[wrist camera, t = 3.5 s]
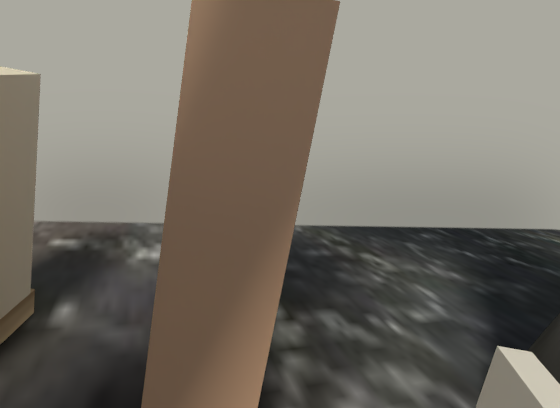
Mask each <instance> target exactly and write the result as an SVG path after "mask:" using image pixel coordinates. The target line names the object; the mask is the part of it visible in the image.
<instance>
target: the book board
mask: <svg viewBox="0 0 560 408" xmlns="http://www.w3.org/2000/svg"><path fill="white" fill-rule="evenodd" d="M34 297H35V289H30V294H29V295H28V296H27V297H26V298H24V299H23V300H22V301H21V302H20V303H19V304H17V305H16V306H15V307H14V308H13V309H12V310H10V311H9V312H8V313H7V314H6V315H5V316H4V317H2V318H1V319H0V344H1V343H3V342H4V341H5V340H6V339H7V338H8V337H9V336H10V335H11V334H12V333H13V332H14V331H15V330H16V329H17V328H18V327H19V326H20V325H21V324H23V323H24V322H25V321H26V320H27V319H28V318H29V317H30V316H31V315H32V314H33V313H34Z"/></svg>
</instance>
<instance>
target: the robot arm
mask: <svg viewBox="0 0 560 408" xmlns="http://www.w3.org/2000/svg"><path fill="white" fill-rule="evenodd" d="M476 408H560V313H559V314H558V316H557V317H556V318H555V319H554V320H553V321H552V322H551V323H550V325H549V326H548V327H547V328H546V329H545V330H544V331H543V333H542V334H541V335H540V336H539V337H538V339H537V340H536V341H535V342H534V343H533V345H532V346H531V347H530V348H529V350H528V351H523V350H518V349H512V348H506V347H501V346H497V348H496V351H495V353H494V356H493V359H492V362H491V365H490V368H489V370H488V373H487V376H486V379H485V382H484V385H483V388H482V390H481V393H480V396H479V399H478V402H477V405H476Z"/></svg>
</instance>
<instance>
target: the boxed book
mask: <svg viewBox="0 0 560 408" xmlns="http://www.w3.org/2000/svg"><path fill="white" fill-rule="evenodd" d="M339 4H340V1H335V0H192V4H191V12H190V20H189V28H188V36H187V44H186V52H185V60H184V68H183V76H182V84H181V92H180V100H179V108H178V116H177V124H176V133H175V140H174V148H173V156H172V164H171V172H170V181H169V189H168V197H167V205H166V212H165V221H164V228H163V236H162V244H161V252H160V260H159V269H158V277H157V285H156V293H155V301H154V309H153V317H152V325H151V333H150V341H149V349H148V357H147V365H146V373H145V381H144V389H143V397H142V405H141V408H258V403H259V399H260V394H261V389H262V384H263V379H264V374H265V369H266V364H267V359H268V354H269V349H270V344H271V339H272V335H273V330H274V325H275V320H276V315H277V310H278V305H279V300H280V295H281V290H282V285H283V280H284V275H285V271H286V266H287V261H288V256H289V251H290V246H291V241H292V236H293V231H294V226H295V221H296V216H297V211H298V206H299V202H300V197H301V192H302V187H303V181H304V177H305V172H306V166H307V162H308V157H309V152H310V147H311V143H312V137H313V133H314V127H315V123H316V117H317V113H318V108H319V103H320V98H321V93H322V88H323V83H324V79H325V73H326V68H327V64H328V59H329V54H330V49H331V44H332V39H333V34H334V29H335V24H336V19H337V14H338V10H339Z"/></svg>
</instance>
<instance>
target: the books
mask: <svg viewBox="0 0 560 408" xmlns="http://www.w3.org/2000/svg"><path fill="white" fill-rule="evenodd" d="M39 96H40V74H38V73H33V72H27V71H22V70H16V69H11V68H6V67H1V66H0V319H1V318H2V317H4V316H5V315H6V314H7V313H8V312H9V311H10V310H12V309H13V308H14V307H15V306H16V305H17V304H19V303H20V302H21V301H22V300H23V299H24V298H26V297H27V296H28V295H29V294H30V289H31V268H32V246H33V225H34V202H35V182H36V160H37V139H38V138H37V137H38V117H39Z"/></svg>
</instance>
